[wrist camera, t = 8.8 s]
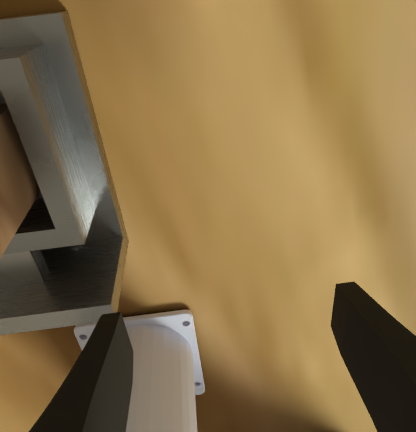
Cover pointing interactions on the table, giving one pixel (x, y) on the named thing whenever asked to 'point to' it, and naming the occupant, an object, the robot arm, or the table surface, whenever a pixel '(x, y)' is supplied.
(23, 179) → the brown rectangular block
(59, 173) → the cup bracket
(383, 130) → the table surface
